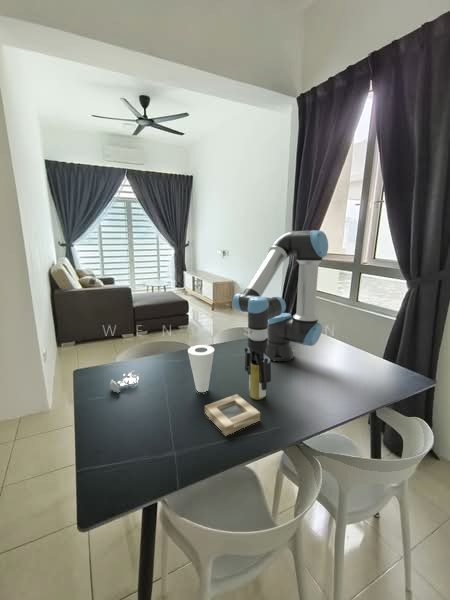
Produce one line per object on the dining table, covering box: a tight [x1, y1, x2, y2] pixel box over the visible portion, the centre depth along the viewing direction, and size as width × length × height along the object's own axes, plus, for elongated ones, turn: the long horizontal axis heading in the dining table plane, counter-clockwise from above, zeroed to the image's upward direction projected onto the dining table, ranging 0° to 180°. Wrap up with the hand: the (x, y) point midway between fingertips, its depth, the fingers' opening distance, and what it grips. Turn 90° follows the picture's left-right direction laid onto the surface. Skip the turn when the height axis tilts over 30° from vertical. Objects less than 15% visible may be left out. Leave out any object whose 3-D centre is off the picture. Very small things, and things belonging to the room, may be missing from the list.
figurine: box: [109, 369, 140, 393], centre depth 120 cm, size 9×6×12 cm
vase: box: [248, 361, 266, 400], centre depth 112 cm, size 6×6×14 cm
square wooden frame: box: [204, 393, 261, 437], centre depth 100 cm, size 14×14×4 cm
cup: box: [187, 344, 215, 393], centre depth 116 cm, size 11×11×18 cm
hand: (257, 392), depth 113 cm, fingers closed on vase, 6 cm apart
